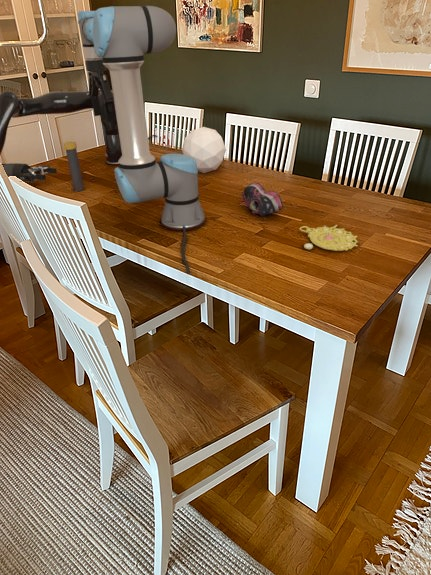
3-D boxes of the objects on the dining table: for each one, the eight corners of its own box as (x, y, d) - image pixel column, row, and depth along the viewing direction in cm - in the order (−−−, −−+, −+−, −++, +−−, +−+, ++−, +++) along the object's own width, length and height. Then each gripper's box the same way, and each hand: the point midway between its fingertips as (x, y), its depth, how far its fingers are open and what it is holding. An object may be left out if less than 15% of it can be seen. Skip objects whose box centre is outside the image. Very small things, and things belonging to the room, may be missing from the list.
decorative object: (343, 255, 128) (285, 234, 139) (342, 262, 130) (284, 241, 140) (372, 230, 142) (317, 213, 152) (371, 237, 143) (316, 219, 153)
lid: (62, 149, 177) (60, 144, 176) (70, 146, 181) (69, 141, 180) (70, 150, 175) (69, 145, 174) (79, 147, 179) (78, 142, 178)
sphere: (210, 188, 203) (207, 161, 184) (176, 167, 208) (170, 139, 189) (234, 159, 208) (234, 131, 189) (200, 139, 213) (197, 110, 194)
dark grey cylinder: (71, 190, 187) (62, 145, 177) (78, 187, 190) (69, 142, 180) (79, 191, 185) (70, 146, 175) (86, 188, 188) (77, 143, 178)
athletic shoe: (254, 181, 170) (227, 189, 167) (283, 176, 151) (253, 185, 147) (260, 210, 173) (234, 218, 170) (290, 209, 154) (261, 219, 150)
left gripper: (4, 168, 182) (39, 170, 179) (24, 158, 194) (57, 160, 191) (9, 186, 186) (43, 188, 183) (29, 175, 198) (61, 177, 195)
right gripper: (117, 61, 159) (125, 122, 170) (92, 56, 176) (101, 112, 188) (97, 62, 155) (107, 125, 167) (74, 57, 173) (84, 114, 185)
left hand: (50, 173), depth 187 cm, fingers open, 8 cm apart
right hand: (104, 118), depth 177 cm, fingers open, 13 cm apart
